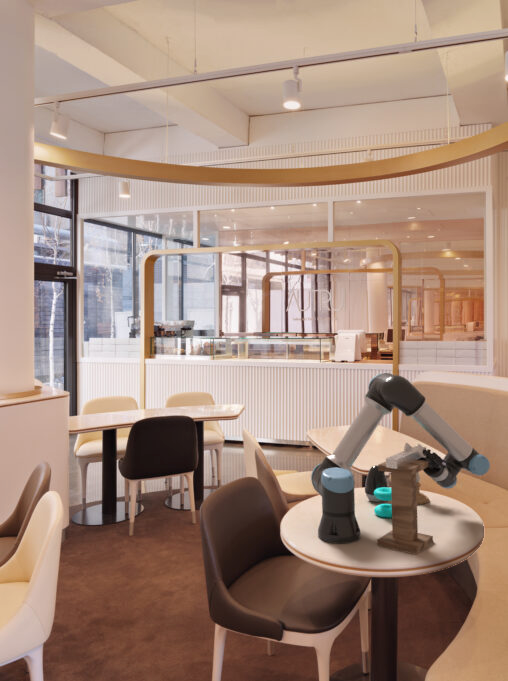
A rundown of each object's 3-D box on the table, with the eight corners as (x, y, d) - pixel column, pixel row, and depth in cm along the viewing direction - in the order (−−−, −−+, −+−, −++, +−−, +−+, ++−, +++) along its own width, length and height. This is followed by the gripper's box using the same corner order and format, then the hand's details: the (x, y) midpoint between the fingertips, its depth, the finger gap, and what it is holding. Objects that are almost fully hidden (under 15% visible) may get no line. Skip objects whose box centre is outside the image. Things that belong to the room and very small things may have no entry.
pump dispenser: (379, 505, 241) (379, 469, 241) (360, 500, 249) (359, 465, 249) (394, 500, 248) (393, 465, 248) (374, 495, 256) (373, 461, 256)
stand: (416, 554, 188) (414, 469, 188) (377, 545, 197) (375, 464, 197) (432, 541, 199) (431, 461, 199) (395, 533, 208) (393, 456, 208)
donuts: (369, 487, 233) (392, 485, 235) (370, 512, 233) (392, 509, 235) (380, 494, 223) (403, 491, 226) (381, 519, 223) (404, 517, 226)
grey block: (397, 468, 189) (397, 459, 189) (386, 467, 192) (385, 458, 192) (426, 455, 208) (426, 447, 208) (415, 454, 211) (415, 446, 210)
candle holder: (408, 506, 240) (407, 458, 239) (394, 497, 252) (393, 452, 251) (434, 503, 243) (433, 455, 242) (419, 495, 255) (418, 450, 254)
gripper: (455, 481, 212) (433, 460, 196) (411, 474, 223) (387, 454, 207) (458, 461, 215) (437, 439, 199) (415, 456, 226) (391, 434, 210)
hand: (412, 447), depth 203 cm, fingers closed on grey block, 4 cm apart
